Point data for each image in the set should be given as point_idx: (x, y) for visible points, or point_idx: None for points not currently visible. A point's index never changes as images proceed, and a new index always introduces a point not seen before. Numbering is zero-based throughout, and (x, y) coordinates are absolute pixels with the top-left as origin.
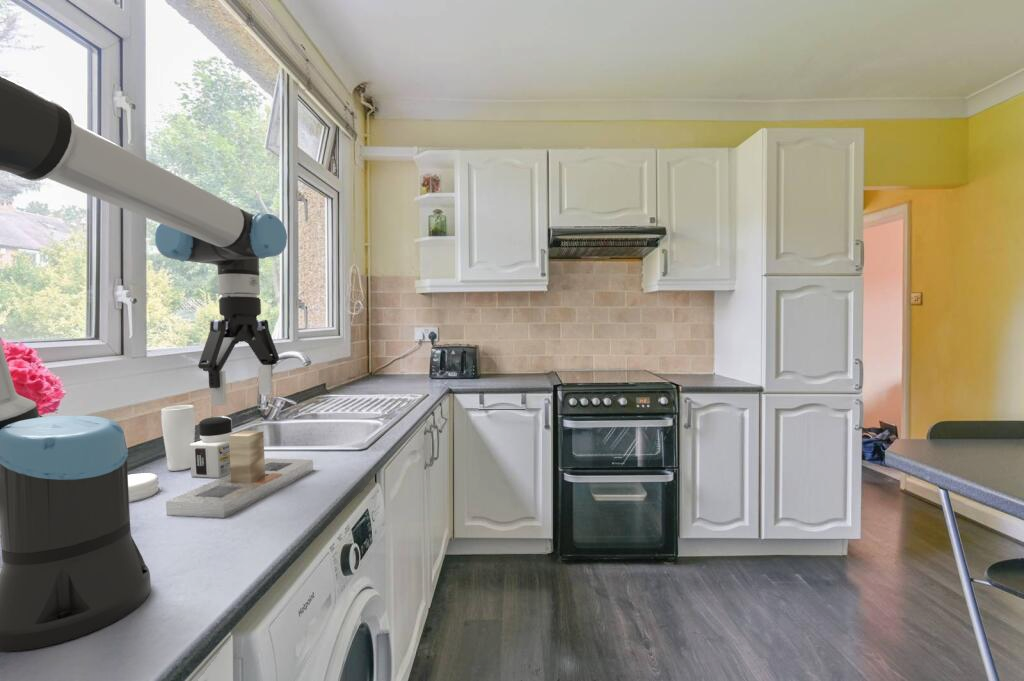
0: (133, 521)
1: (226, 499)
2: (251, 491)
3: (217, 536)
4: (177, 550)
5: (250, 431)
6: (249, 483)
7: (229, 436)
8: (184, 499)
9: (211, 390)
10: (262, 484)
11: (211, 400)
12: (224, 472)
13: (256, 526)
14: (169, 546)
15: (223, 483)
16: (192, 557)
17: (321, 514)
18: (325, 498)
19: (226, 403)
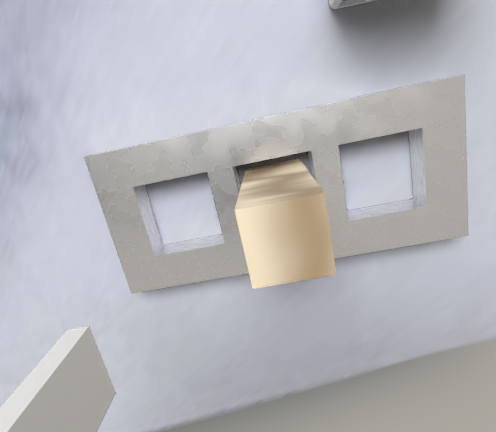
0: (46, 117)
1: (151, 276)
2: (212, 278)
3: None
4: (31, 318)
5: (317, 232)
6: None
7: (235, 212)
8: (111, 187)
9: (8, 405)
10: None
11: (53, 348)
12: (353, 3)
13: (142, 356)
14: (31, 295)
15: (224, 170)
16: (32, 356)
17: (221, 412)
18: (285, 374)
19: (114, 395)
